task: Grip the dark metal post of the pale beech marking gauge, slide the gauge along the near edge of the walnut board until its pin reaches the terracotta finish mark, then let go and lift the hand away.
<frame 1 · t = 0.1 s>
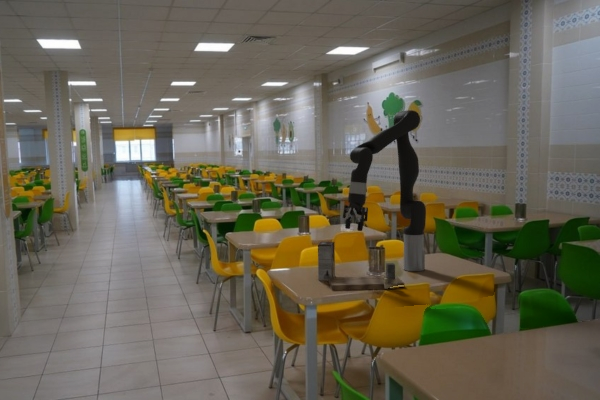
hand: (353, 229, 230), 22 cm above the table, tool pointing down, fingers open, 8 cm apart
board: (365, 284, 222), on the table
coffee box: (326, 278, 235), on the table
gauge: (387, 273, 219), point 6 cm above the table, slide at -9.0 cm
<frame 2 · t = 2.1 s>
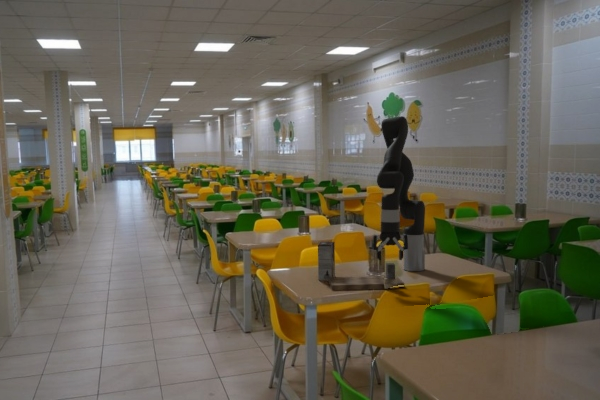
hand: (389, 259, 214), 12 cm above the table, tool pointing down, fingers open, 8 cm apart
nothing on the table moved.
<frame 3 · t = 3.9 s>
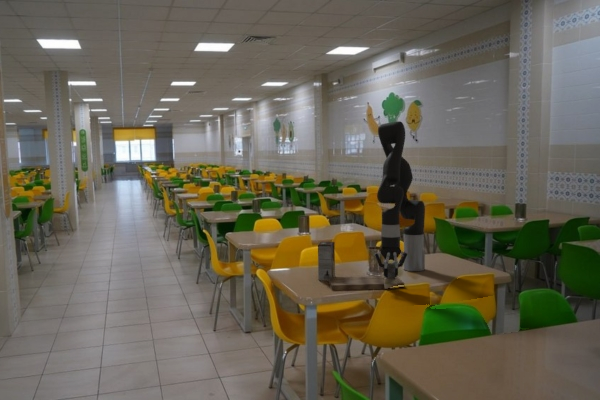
hand: (390, 276, 214), 5 cm above the table, tool pointing down, fingers closed on gauge, 3 cm apart
gauge: (387, 273, 219), point 6 cm above the table, slide at -9.0 cm, touching gripper
everything else where it was.
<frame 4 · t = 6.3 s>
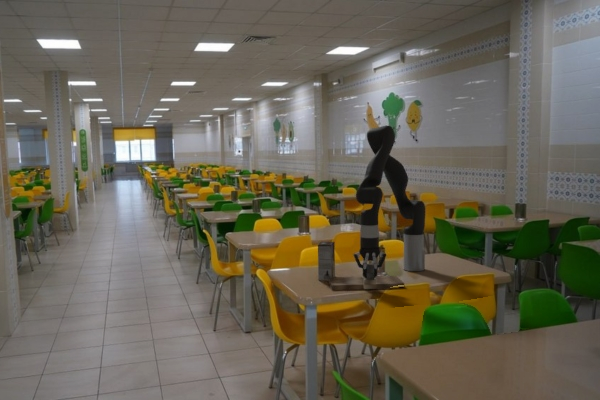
hand: (369, 277, 214), 5 cm above the table, tool pointing down, fingers closed on gauge, 3 cm apart
gauge: (367, 273, 219), point 6 cm above the table, slide at -0.4 cm, touching gripper
everything else where it was.
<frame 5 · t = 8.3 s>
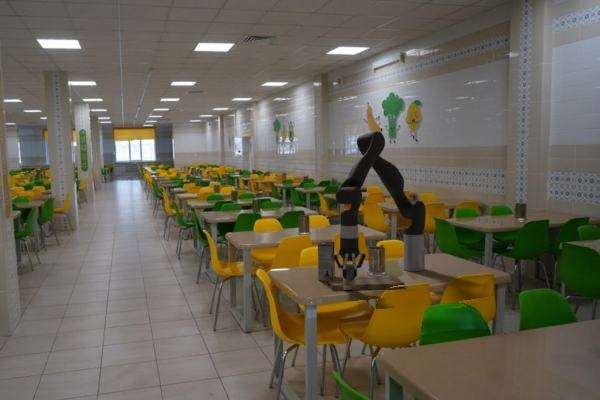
hand: (349, 277, 213), 5 cm above the table, tool pointing down, fingers closed on gauge, 3 cm apart
gauge: (347, 274, 218), point 6 cm above the table, slide at 7.9 cm, touching gripper
everything else where it was.
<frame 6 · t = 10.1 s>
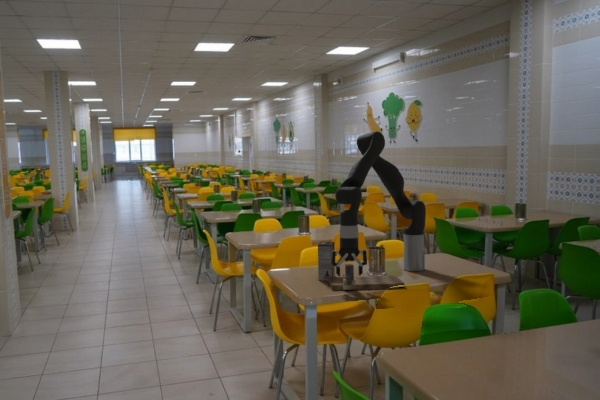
hand: (349, 275, 213), 6 cm above the table, tool pointing down, fingers open, 8 cm apart
gauge: (347, 274, 218), point 6 cm above the table, slide at 7.9 cm
everything else where it was.
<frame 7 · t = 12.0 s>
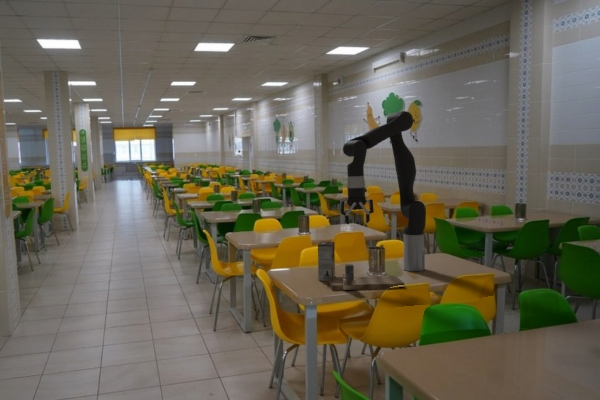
hand: (357, 223, 229), 25 cm above the table, tool pointing down, fingers open, 8 cm apart
nothing on the table moved.
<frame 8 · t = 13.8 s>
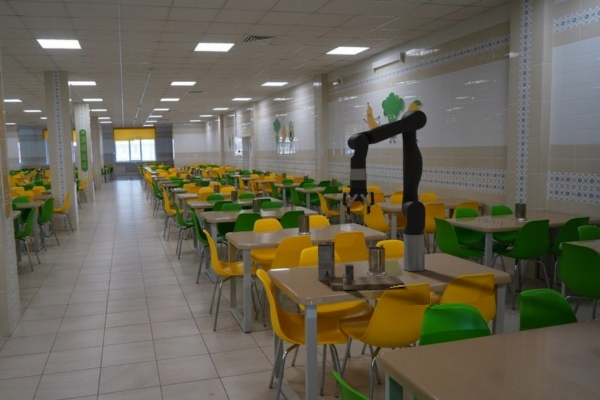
hand: (358, 214, 237), 28 cm above the table, tool pointing down, fingers open, 8 cm apart
nothing on the table moved.
at the end: gauge slide at 7.9 cm; the gripper is holding nothing; coffee box moved 0.2 cm from its start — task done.
